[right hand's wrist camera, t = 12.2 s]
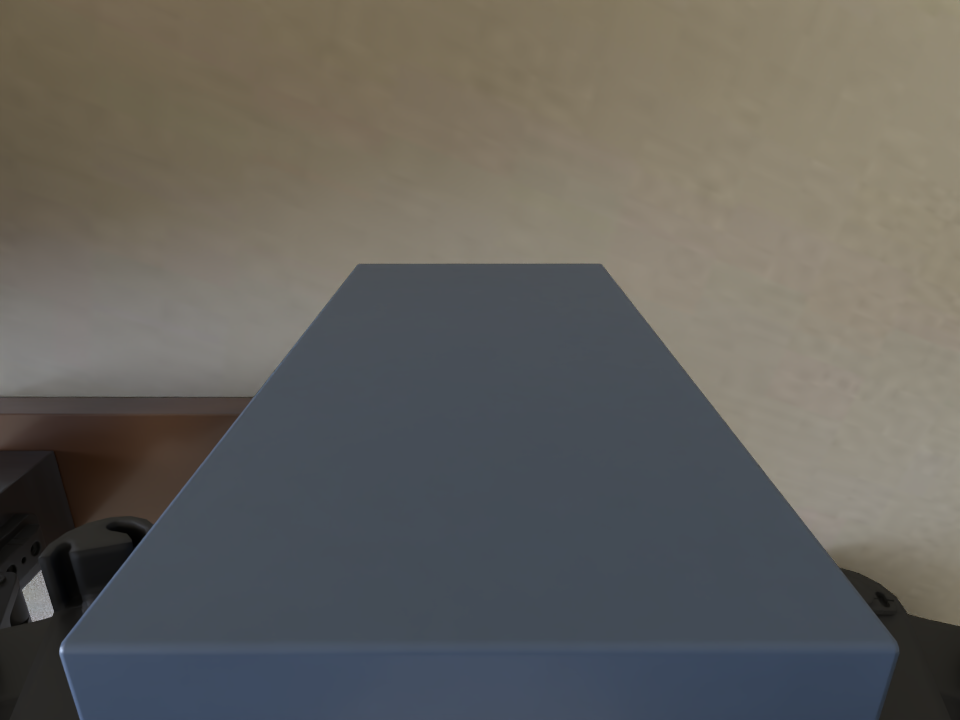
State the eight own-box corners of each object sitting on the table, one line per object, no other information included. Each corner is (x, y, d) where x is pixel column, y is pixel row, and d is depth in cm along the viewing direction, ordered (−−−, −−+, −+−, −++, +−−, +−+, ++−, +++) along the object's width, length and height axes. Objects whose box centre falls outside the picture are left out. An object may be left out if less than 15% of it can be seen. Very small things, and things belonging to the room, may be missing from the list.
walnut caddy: (531, 395, 33) (551, 507, 24) (527, 542, 36) (542, 691, 27) (-9, 395, 33) (-200, 506, 24) (36, 541, 37) (-116, 689, 27)
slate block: (602, 263, 16) (907, 647, 4) (587, 475, 18) (767, 1088, 7) (356, 263, 16) (52, 647, 4) (372, 475, 18) (192, 1088, 7)
